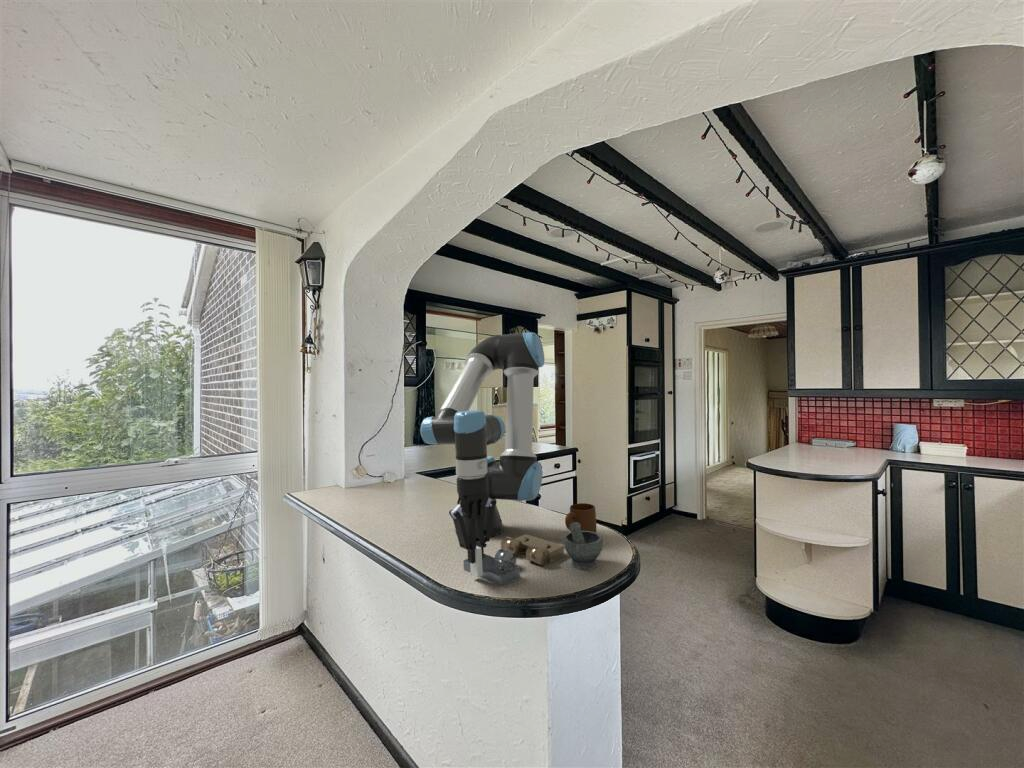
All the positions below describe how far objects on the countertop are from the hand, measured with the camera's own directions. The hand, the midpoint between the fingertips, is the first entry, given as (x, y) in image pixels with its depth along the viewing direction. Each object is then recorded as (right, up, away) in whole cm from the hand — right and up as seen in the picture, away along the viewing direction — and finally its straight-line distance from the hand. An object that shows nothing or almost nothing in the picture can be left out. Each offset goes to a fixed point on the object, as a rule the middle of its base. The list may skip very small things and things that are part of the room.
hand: (476, 574), depth 97 cm
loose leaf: (+5, -1, +4) cm, 7 cm away
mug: (+28, -1, +22) cm, 36 cm away
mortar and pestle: (+26, 0, +5) cm, 27 cm away
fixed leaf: (+14, -1, +13) cm, 19 cm away
